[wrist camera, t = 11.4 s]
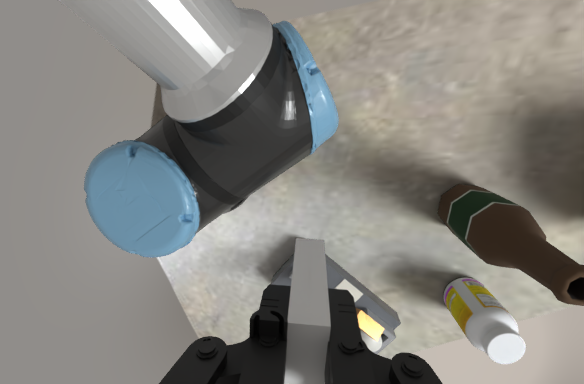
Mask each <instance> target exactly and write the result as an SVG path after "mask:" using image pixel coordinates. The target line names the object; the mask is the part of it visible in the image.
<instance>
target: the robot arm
mask: <svg viewBox="0 0 584 384" xmlns="http://www.w3.org/2000/svg"><path fill="white" fill-rule="evenodd" d="M59 1H60V2H61V3H62V4H64V5H65V6H66V7H67V8H68V9H69V10H71V11H72V12H73V13H74V14H75V15H77V16H78V17H79V18H80V19H81V20H83V21H84V22H85V23H86V24H87V25H89V26H90V27H91V28H92V29H93V30H95V31H96V32H97V33H98V34H99V35H101V36H102V37H103V38H104V39H105V40H107V41H108V42H109V43H110V44H111V45H113V46H114V47H115V48H116V49H117V50H118V51H120V52H121V53H122V54H123V55H124V56H126V57H127V58H128V59H129V60H130V61H132V62H133V63H134V64H135V65H136V66H138V67H139V68H140V69H141V70H142V71H144V72H145V73H146V74H147V75H148V76H150V77H151V78H152V79H153V80H155V81H156V82H157V83H158V84H159V85H160V86H161V97H162V105H163V108H164V111H165V112H166V113H167V114H168V115H167V116H165V117H164V118H163V119H161V120H160V121H159V122H158V123H157V124H155V125H154V126H153V127H152V128H151V129H149V130H148V131H147V132H146V133H144V134H143V135H142V136H141V137H139V138H138V139H136V140H134V141H133V140H129V141H128V140H127V141H123V142H118V143H117V144H115V145H112V146H111V147H108V148H107V149H105V150H103V151H102V152H100V153H99V154H98V155H97V156H96V157H95V158H94V159H93V161H92V162H91V164H90V166H89V168H88V170H87V172H86V176H85V181H84V190H85V192H86V193H87V198H86V205H87V209H88V211H89V214H90V216H91V218H92V220H93V222H94V223H95V225H96V226H97V227H98V229H99V230H100V231H101V233H102V234H103V235H104V236H105V237H106V238H107V239H108V240H109V241H111V242H112V243H113V244H115V245H116V246H117V247H119V248H121V249H122V250H125V251H127V252H129V253H135V254H139V255H140V256H143V257H161V256H166V255H169V254H171V253H173V252H175V251H177V250H178V249H180V248H183V247H184V246H186V245H187V244H189V243H190V242H191V240H192V239H193V237H194V236H195V234H196V233H197V232H199V231H200V230H201V229H202V228H204V227H205V226H206V225H207V224H209V223H210V222H212V221H213V220H214V219H216V218H217V217H219V216H220V215H222V214H224V213H227V212H230V211H232V210H234V209H236V208H237V207H239V206H240V205H241V204H242V203H243V202H244V201H245V200H246V199H247V198H248V197H249V195H251V194H252V193H254V192H255V191H257V190H258V189H260V188H261V187H262V186H264V185H265V184H267V183H268V182H270V181H271V180H273V179H274V178H276V177H277V176H279V175H280V174H282V173H283V172H285V171H286V170H288V169H289V168H290V167H292V166H293V165H295V164H296V163H298V162H299V161H301V160H302V159H304V158H305V157H307V156H308V155H310V154H312V153H314V151H315V150H316V148H317V147H319V146H320V145H321V144H322V143H324V142H325V141H326V140H327V139H329V138H330V137H331V136H332V135H333V134H334V133H335V131H336V130H337V127H338V122H339V118H338V112H337V108H336V105H335V102H334V100H333V97H332V95H331V92H330V90H329V88H328V86H327V83H326V81H325V79H324V77H323V75H322V73H321V71H320V70H319V69H318V68H317V67H316V63H315V61H314V59H313V57H312V54H311V52H310V51H309V49H308V47H307V46H306V44H305V42H304V41H303V39H302V38H301V36H300V35H299V33H298V32H297V30H296V29H295V28H294V27H293V26H292V25H291V24H290V23H289V22H287V21H282V22H280V23H276V24H273V25H272V24H271V22H270V21H269V19H268V18H267V17H266V16H265V14H263V13H262V12H260V11H258V10H253V9H244V8H237V7H236V6H235V5H234V3H233V2H232V0H59ZM324 383H325V384H442V382H441V381H440V379H439V378H438V376H437V375H436V374H435V372H434V371H433V369H432V368H431V367H430V366H429V364H427V362H426V361H425V360H423V359H422V358H420V357H419V356H417V355H414V354H411V353H399V354H396V355H395V356H394V357H393V358H392V360H391V359H388V358H385V357H382V356H379V355H377V354H375V353H374V352H372V351H371V350H369V349H368V347H367V345H366V343H365V342H364V341H363V340H362V337H361V332H360V327H359V322H358V317H357V312H356V307H355V302H354V297H353V296H352V295H351V293H350V292H349V291H348V290H343V289H331V288H328V284H327V271H326V258H325V246H324V240H314V239H301V238H296V243H295V253H294V262H293V272H292V281H291V286H285V285H272V284H270V285H269V286H268V287H267V288H266V289H265V290H264V291H263V296H262V300H261V304H260V308H259V310H258V311H256V312H255V313H253V314H252V316H251V318H250V337H249V338H248V339H247V340H245V341H243V342H241V343H237V344H233V345H227V346H226V344H225V342H224V341H223V340H222V339H220V338H218V337H212V336H208V337H202V338H200V339H198V340H196V341H195V342H194V343H192V344H191V345H190V346H189V347H188V348H187V350H186V351H185V352H184V353H183V355H182V356H181V357H180V358H179V359H178V361H177V362H176V363H175V364H174V366H173V367H172V368H171V369H170V371H169V372H168V373H167V374H166V376H165V377H164V378H163V379H162V380H161V382H160V383H159V384H324Z"/></svg>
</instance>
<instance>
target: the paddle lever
mask: <svg viewBox="0 0 584 384" xmlns="http://www.w3.org/2000/svg"><path fill="white" fill-rule="evenodd" d="M356 312H357V317H358V322H359V327H360V329H361V330H362V331H363V332H364V333H366V334H367V335H368V336H369V337H371V338H372V339H374V340H376V341H378V339H379V337H380V336H381V334H382V332H383V331H384V328H383V327H382V326H380V325H379V324H378V323H377V322H375V321H374V320H373V319H372V318H370V317H369V316H368V315H367V314H365V313H364V312H363V311H362V310H360V309H358V308H356Z"/></svg>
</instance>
